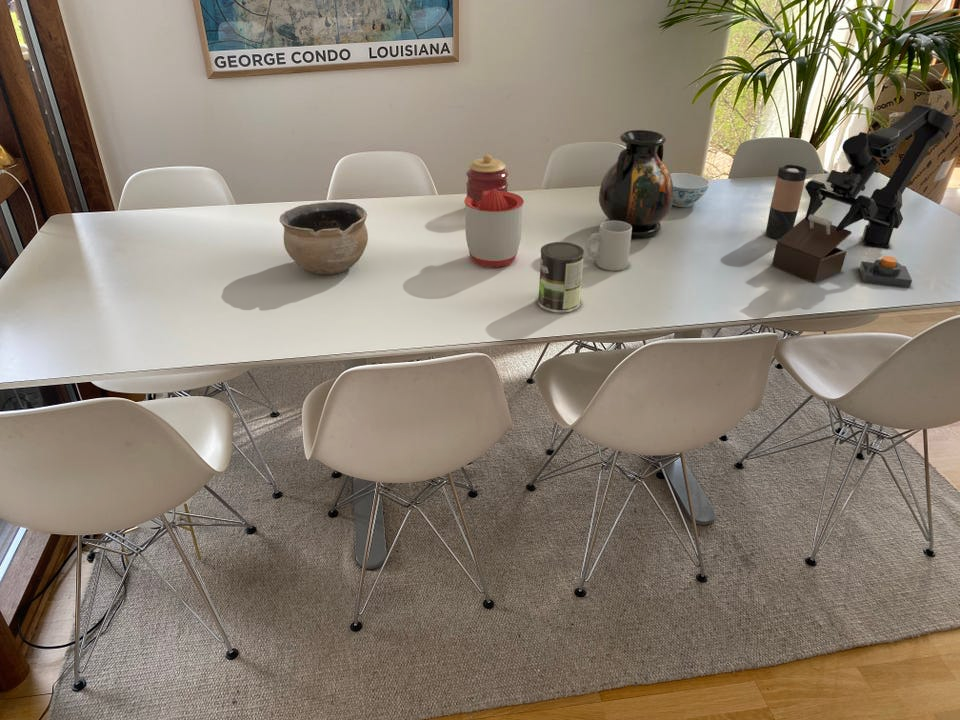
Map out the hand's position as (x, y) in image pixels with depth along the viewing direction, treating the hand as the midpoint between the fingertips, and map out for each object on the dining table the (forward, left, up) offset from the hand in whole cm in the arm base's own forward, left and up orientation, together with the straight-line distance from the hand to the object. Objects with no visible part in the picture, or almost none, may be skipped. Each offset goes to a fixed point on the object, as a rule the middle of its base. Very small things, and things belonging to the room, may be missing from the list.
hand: (821, 224), depth 202 cm
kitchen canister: (+95, -16, -12) cm, 98 cm away
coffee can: (+61, +41, -12) cm, 75 cm away
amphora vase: (+49, -13, -12) cm, 53 cm away
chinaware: (+36, -40, -12) cm, 56 cm away
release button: (-18, +2, -9) cm, 20 cm away
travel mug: (+7, -21, -12) cm, 26 cm away
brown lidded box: (+1, +2, -12) cm, 12 cm away
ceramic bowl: (+124, +38, -12) cm, 131 cm away
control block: (-18, +2, -12) cm, 22 cm away
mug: (+53, +15, -12) cm, 57 cm away
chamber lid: (+1, +1, -3) cm, 4 cm away
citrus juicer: (+84, +20, -12) cm, 87 cm away
